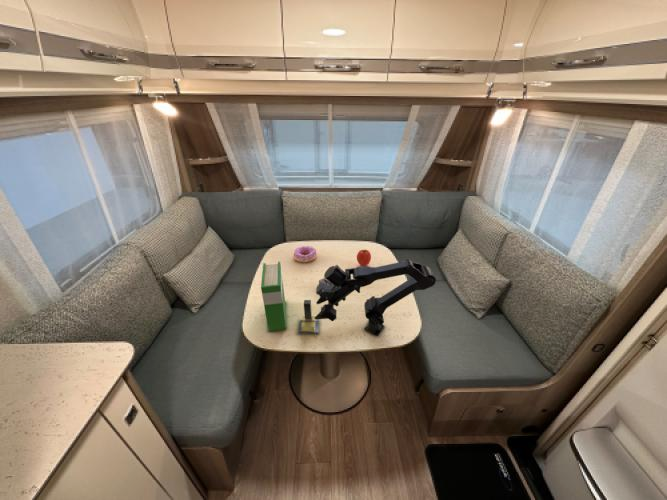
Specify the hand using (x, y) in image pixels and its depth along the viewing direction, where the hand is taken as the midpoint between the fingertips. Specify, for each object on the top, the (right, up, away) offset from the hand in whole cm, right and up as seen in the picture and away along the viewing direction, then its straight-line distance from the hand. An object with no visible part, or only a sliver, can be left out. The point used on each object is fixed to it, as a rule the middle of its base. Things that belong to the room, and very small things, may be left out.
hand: (316, 310), depth 112 cm
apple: (+25, +16, +47) cm, 55 cm away
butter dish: (-4, -8, +5) cm, 10 cm away
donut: (-10, +21, +55) cm, 60 cm away
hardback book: (-19, -5, +11) cm, 22 cm away
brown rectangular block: (+4, +6, +29) cm, 30 cm away
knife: (-3, -8, +5) cm, 10 cm away
